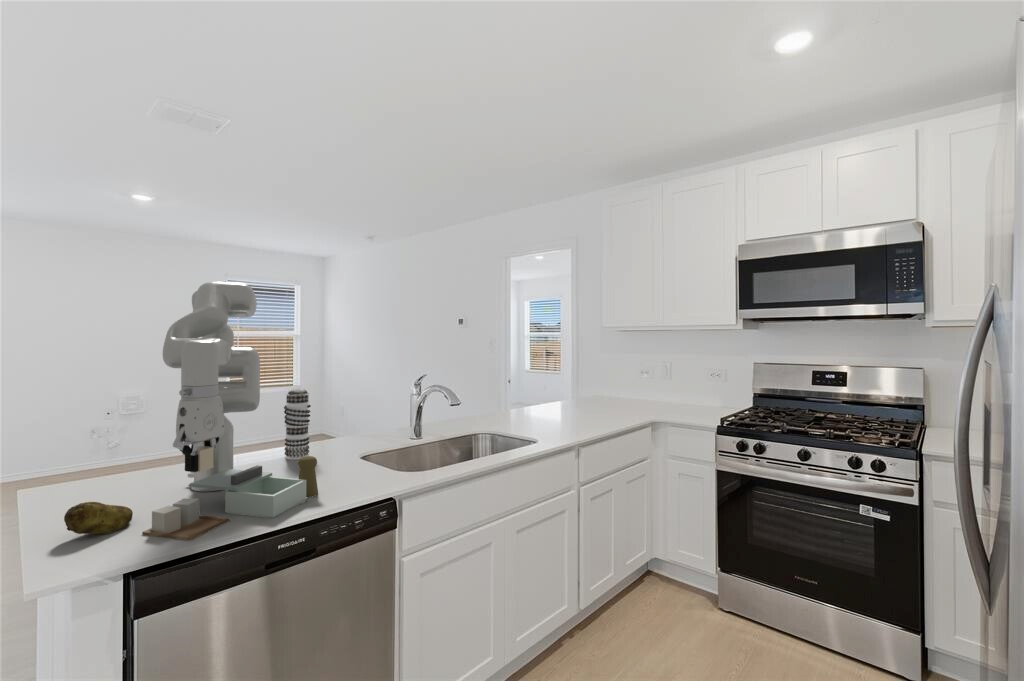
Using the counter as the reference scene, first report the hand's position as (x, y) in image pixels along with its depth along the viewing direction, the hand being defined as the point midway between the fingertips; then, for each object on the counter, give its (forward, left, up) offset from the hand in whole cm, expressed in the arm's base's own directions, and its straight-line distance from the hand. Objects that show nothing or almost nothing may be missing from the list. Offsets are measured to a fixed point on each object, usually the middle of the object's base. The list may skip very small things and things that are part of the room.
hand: (199, 467), depth 119 cm
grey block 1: (-6, -3, -15) cm, 16 cm away
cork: (+10, +29, -15) cm, 34 cm away
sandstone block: (0, 0, 0) cm, 0 cm away
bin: (+6, +17, -15) cm, 23 cm away
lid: (-5, +17, -9) cm, 20 cm away
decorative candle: (-18, +65, -15) cm, 69 cm away
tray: (-3, 0, -15) cm, 15 cm away
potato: (-20, -7, -15) cm, 26 cm away
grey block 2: (-6, +3, -15) cm, 16 cm away
